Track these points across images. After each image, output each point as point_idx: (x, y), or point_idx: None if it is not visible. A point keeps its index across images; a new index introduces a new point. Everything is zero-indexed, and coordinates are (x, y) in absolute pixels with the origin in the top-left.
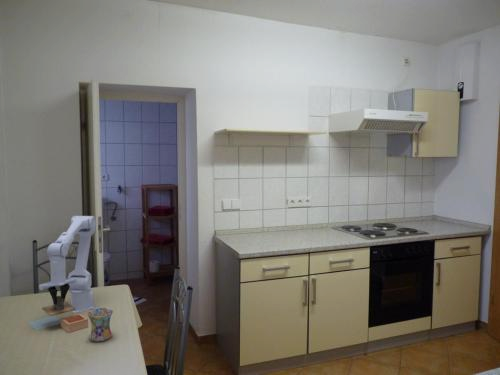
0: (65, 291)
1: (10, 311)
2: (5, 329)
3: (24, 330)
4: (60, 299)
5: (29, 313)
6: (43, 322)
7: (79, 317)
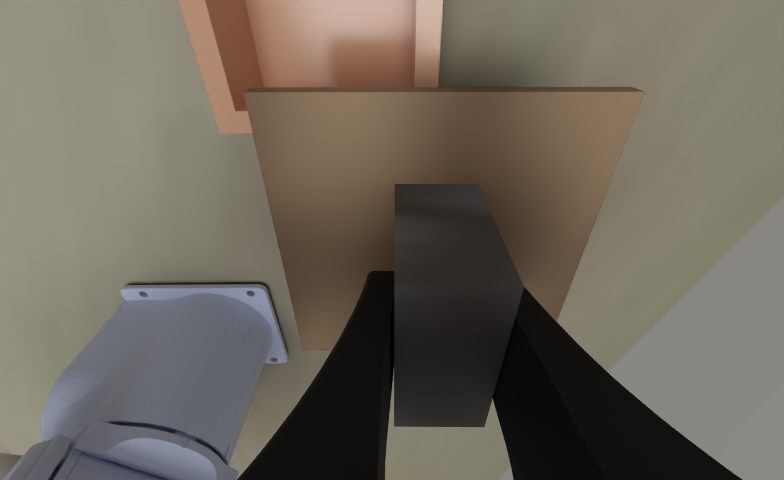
0: (323, 472)
1: None
2: (661, 312)
3: (618, 238)
4: (459, 297)
5: None
6: None
7: (242, 87)
